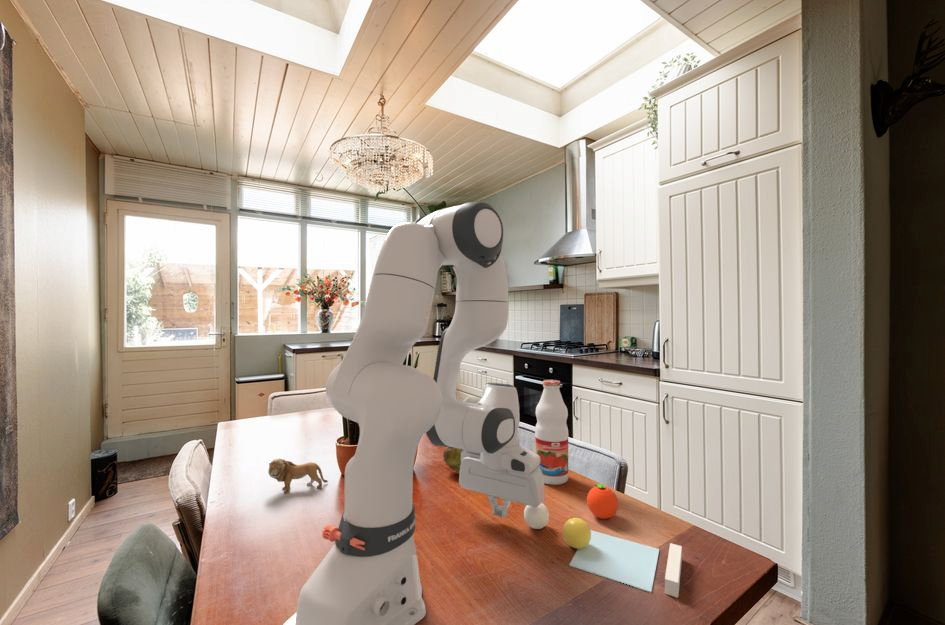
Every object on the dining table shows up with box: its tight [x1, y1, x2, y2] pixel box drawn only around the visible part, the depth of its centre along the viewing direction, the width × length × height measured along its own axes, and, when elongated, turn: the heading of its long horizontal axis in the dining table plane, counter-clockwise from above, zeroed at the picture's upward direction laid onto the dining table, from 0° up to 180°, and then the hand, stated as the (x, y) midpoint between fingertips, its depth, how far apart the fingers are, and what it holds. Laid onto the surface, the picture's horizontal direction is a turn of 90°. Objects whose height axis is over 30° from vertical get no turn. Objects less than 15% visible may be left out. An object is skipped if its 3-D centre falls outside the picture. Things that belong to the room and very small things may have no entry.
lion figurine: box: [268, 458, 329, 494], centre depth 105 cm, size 15×5×9 cm, turn 119°
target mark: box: [568, 529, 660, 593], centre depth 76 cm, size 14×14×1 cm
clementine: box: [586, 483, 619, 520], centre depth 92 cm, size 8×7×7 cm
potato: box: [442, 447, 463, 475], centre depth 115 cm, size 8×13×8 cm, turn 61°
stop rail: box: [664, 542, 683, 599], centre depth 71 cm, size 12×2×2 cm, turn 149°
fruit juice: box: [534, 379, 569, 486], centre depth 112 cm, size 9×9×28 cm
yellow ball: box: [562, 517, 591, 550], centre depth 79 cm, size 6×6×6 cm
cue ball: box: [523, 502, 550, 530], centre depth 86 cm, size 6×6×6 cm
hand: (499, 515), depth 88 cm, fingers closed
